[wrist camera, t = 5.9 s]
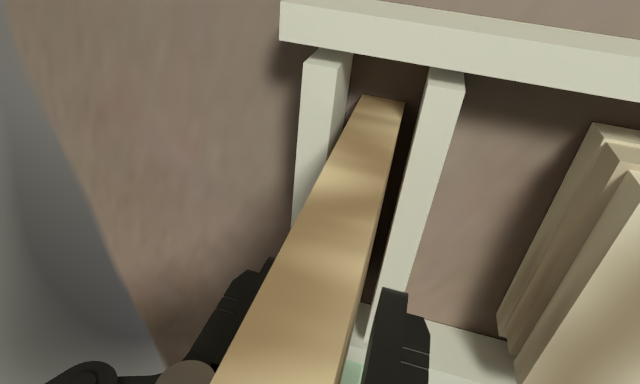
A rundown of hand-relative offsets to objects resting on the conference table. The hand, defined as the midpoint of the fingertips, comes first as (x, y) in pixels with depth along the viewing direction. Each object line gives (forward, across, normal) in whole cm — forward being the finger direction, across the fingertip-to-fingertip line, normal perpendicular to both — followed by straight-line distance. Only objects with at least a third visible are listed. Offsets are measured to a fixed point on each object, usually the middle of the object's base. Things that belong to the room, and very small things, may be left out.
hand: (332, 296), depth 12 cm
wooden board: (+6, 0, 0) cm, 6 cm away
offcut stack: (+6, -9, 0) cm, 11 cm away
